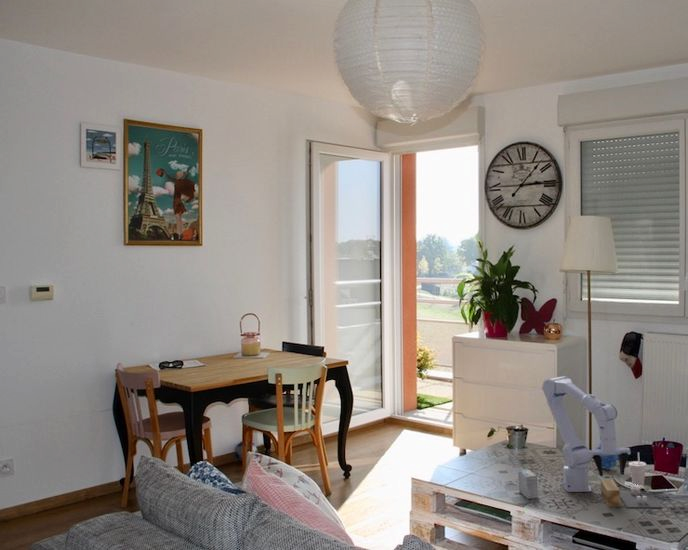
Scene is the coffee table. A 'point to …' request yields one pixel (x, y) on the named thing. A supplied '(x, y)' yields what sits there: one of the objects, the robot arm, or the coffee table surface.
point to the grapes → (608, 460)
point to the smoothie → (637, 471)
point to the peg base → (639, 499)
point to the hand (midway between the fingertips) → (611, 474)
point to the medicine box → (528, 484)
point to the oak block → (610, 493)
